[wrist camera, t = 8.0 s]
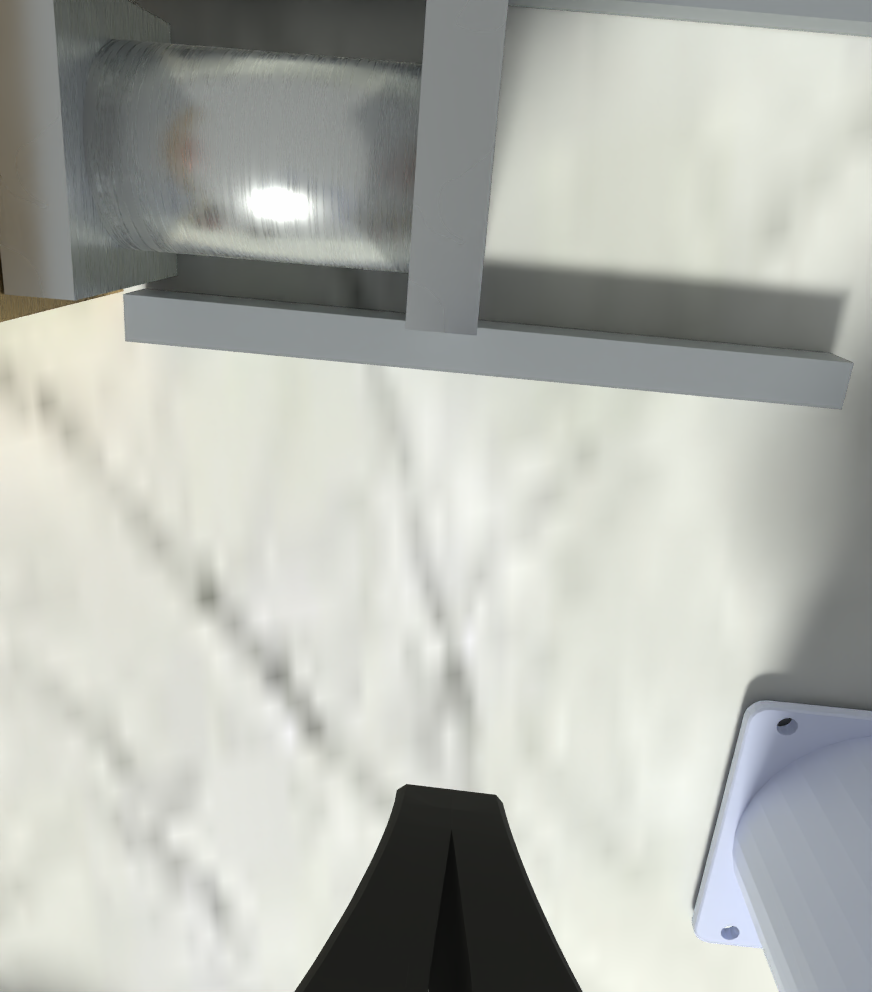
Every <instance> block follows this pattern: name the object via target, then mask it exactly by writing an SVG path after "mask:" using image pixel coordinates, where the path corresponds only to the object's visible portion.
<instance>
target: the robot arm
mask: <svg viewBox="0 0 872 992" xmlns="http://www.w3.org/2000/svg"><path fill="white" fill-rule="evenodd" d="M785 718H791V719H792V720H791V721H790V723H789V724H787V725H785V726H777V724H778V723H779V721H781V720H783V719H785ZM692 926H693V929H694V932H695V934H696V936H697V938H699V939H700V940H702V941H705V942H708V943H717V944H726V945H735V946H744V947H754V948H763V951H764V953H765V956H766V959H767V961H768V964H769V967H770V969H771V972H772V975H773V977H774V980H775V983H776V985H777V988H778V990H779V992H872V711H867V710H857V709H847V708H837V707H828V706H818V705H808V704H798V703H788V702H779V701H769V700H765V701H758V702H756V703H753V704H752V705H751V706H749V707H748V708H747V710H746V712H745V714H744V716H743V720H742V724H741V728H740V732H739V736H738V740H737V744H736V748H735V752H734V756H733V760H732V764H731V768H730V771H729V775H728V779H727V783H726V787H725V791H724V795H723V799H722V803H721V807H720V811H719V815H718V819H717V823H716V827H715V830H714V834H713V838H712V842H711V846H710V850H709V854H708V858H707V862H706V866H705V870H704V874H703V878H702V882H701V886H700V889H699V893H698V897H697V901H696V905H695V909H694V913H693V917H692ZM726 926H732V927H730V928H724V927H726ZM295 992H582V990H581V988H580V986H579V984H578V982H577V980H576V979H575V977H574V975H573V973H572V971H571V969H570V967H569V965H568V963H567V961H566V959H565V957H564V955H563V953H562V951H561V949H560V947H559V945H558V943H557V941H556V939H555V937H554V935H553V932H552V930H551V928H550V926H549V924H548V921H547V919H546V917H545V915H544V913H543V911H542V908H541V906H540V904H539V902H538V900H537V897H536V895H535V893H534V890H533V888H532V886H531V883H530V881H529V878H528V876H527V873H526V871H525V868H524V866H523V863H522V861H521V858H520V855H519V853H518V850H517V847H516V844H515V842H514V839H513V836H512V833H511V830H510V827H509V824H508V820H507V817H506V814H505V810H504V806H503V803H502V802H501V800H500V799H499V798H498V797H497V795H492V794H484V793H476V792H467V791H459V790H451V789H442V788H434V787H426V786H417V785H409V784H406V785H404V786H403V787H401V788H400V789H398V790H397V793H396V798H395V802H394V806H393V809H392V812H391V815H390V818H389V821H388V824H387V827H386V829H385V832H384V834H383V836H382V839H381V841H380V843H379V845H378V848H377V850H376V852H375V854H374V857H373V859H372V861H371V863H370V865H369V867H368V869H367V871H366V873H365V874H364V876H363V878H362V880H361V882H360V884H359V886H358V888H357V890H356V892H355V894H354V896H353V898H352V900H351V902H350V903H349V905H348V907H347V909H346V910H345V912H344V914H343V916H342V917H341V919H340V921H339V922H338V924H337V925H336V927H335V929H334V930H333V932H332V934H331V935H330V937H329V939H328V940H327V942H326V944H325V945H324V947H323V949H322V950H321V952H320V953H319V955H318V957H317V958H316V960H315V962H314V963H313V965H312V966H311V968H310V969H309V971H308V972H307V974H306V975H305V977H304V978H303V980H302V981H301V983H300V984H299V986H298V987H297V989H296V990H295Z"/></svg>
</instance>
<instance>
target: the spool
mask: <svg viewBox="0 0 872 992" xmlns="http://www.w3.org/2000/svg"><path fill="white" fill-rule="evenodd" d="M507 11H508V0H426V16H425V31H424V46H423V62H422V64H420V63H408V62H395V61H383V60H370V59H358V58H345V57H333V56H320V55H308V54H295V53H283V52H271V51H258V50H246V49H233V48H221V47H208V46H196V45H183V44H171V36H170V24H168V23H167V22H165V21H163V20H161V19H160V18H158V17H156V16H154V15H153V14H151V13H149V12H147V11H146V10H144V9H142V8H140V7H139V6H137V5H135V4H133V3H132V2H130V1H128V0H0V253H1V263H2V273H3V283H4V293H5V295H16V296H28V297H39V298H51V299H62V300H74V301H75V300H79V299H83V298H87V297H91V296H96V295H100V294H104V293H108V292H112V291H116V290H120V289H124V288H128V287H132V286H136V285H141V284H145V283H149V282H153V281H157V280H161V279H165V278H169V277H173V276H177V253H178V254H190V255H201V256H213V257H225V258H236V259H248V260H260V261H271V262H283V263H295V264H306V265H318V266H330V267H341V268H353V269H365V270H376V271H388V272H400V273H409V277H408V292H407V307H406V323H405V329H406V330H417V331H429V332H440V333H452V334H463V335H475V336H477V326H478V316H479V305H480V295H481V284H482V274H483V263H484V253H485V242H486V232H487V221H488V211H489V200H490V190H491V179H492V169H493V158H494V147H495V137H496V126H497V116H498V105H499V95H500V84H501V74H502V63H503V53H504V42H505V32H506V21H507Z"/></svg>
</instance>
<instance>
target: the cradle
mask: <svg viewBox="0 0 872 992" xmlns="http://www.w3.org/2000/svg"><path fill="white" fill-rule="evenodd" d="M508 6H520V7H531V8H543V9H554V10H566V11H577V12H589V13H600V14H612V15H623V16H635V17H646V18H658V19H669V20H681V21H693V22H704V23H716V24H727V25H739V26H750V27H762V28H773V29H785V30H796V31H808V32H819V33H831V34H842V35H854V36H865V37H872V0H508ZM123 299H124V321H125V341H128V342H139V343H149V344H160V345H170V346H181V347H191V348H202V349H212V350H223V351H233V352H244V353H254V354H265V355H275V356H286V357H296V358H307V359H317V360H328V361H338V362H349V363H359V364H370V365H380V366H391V367H401V368H412V369H422V370H433V371H443V372H454V373H464V374H475V375H485V376H496V377H506V378H517V379H527V380H538V381H548V382H559V383H569V384H580V385H590V386H601V387H611V388H622V389H632V390H643V391H653V392H664V393H674V394H685V395H695V396H706V397H716V398H727V399H737V400H748V401H758V402H769V403H779V404H790V405H800V406H811V407H821V408H832V409H842V406H843V403H844V399H845V395H846V391H847V387H848V384H849V380H850V376H851V372H852V368H853V365H854V363H853V362H850V361H848V360H846V359H843V358H841V357H839V356H836V355H834V354H832V353H825V352H814V351H804V350H793V349H782V348H772V347H761V346H750V345H740V344H729V343H719V342H708V341H697V340H687V339H676V338H665V337H655V336H644V335H633V334H623V333H612V332H601V331H591V330H580V329H570V328H559V327H548V326H538V325H527V324H516V323H506V322H495V321H484V320H478V326H477V336H475V335H463V334H452V333H440V332H429V331H417V330H406V329H405V323H406V313H399V312H389V311H378V310H367V309H357V308H346V307H336V306H325V305H314V304H304V303H293V302H282V301H272V300H261V299H250V298H240V297H229V296H219V295H208V294H197V293H187V292H176V291H165V290H155V289H142V290H138V291H134V292H130V293H126V294H123Z"/></svg>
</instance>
